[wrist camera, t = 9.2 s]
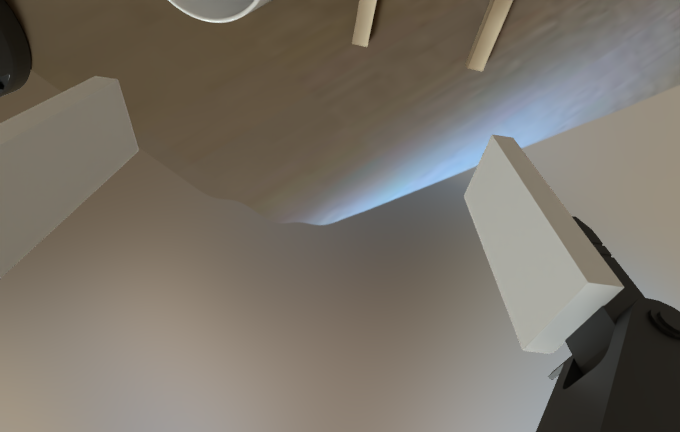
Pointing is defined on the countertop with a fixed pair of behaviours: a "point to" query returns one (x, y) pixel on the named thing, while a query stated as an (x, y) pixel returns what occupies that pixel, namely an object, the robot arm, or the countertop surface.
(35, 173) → the robot arm
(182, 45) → the countertop surface
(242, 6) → the mug
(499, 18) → the channel
